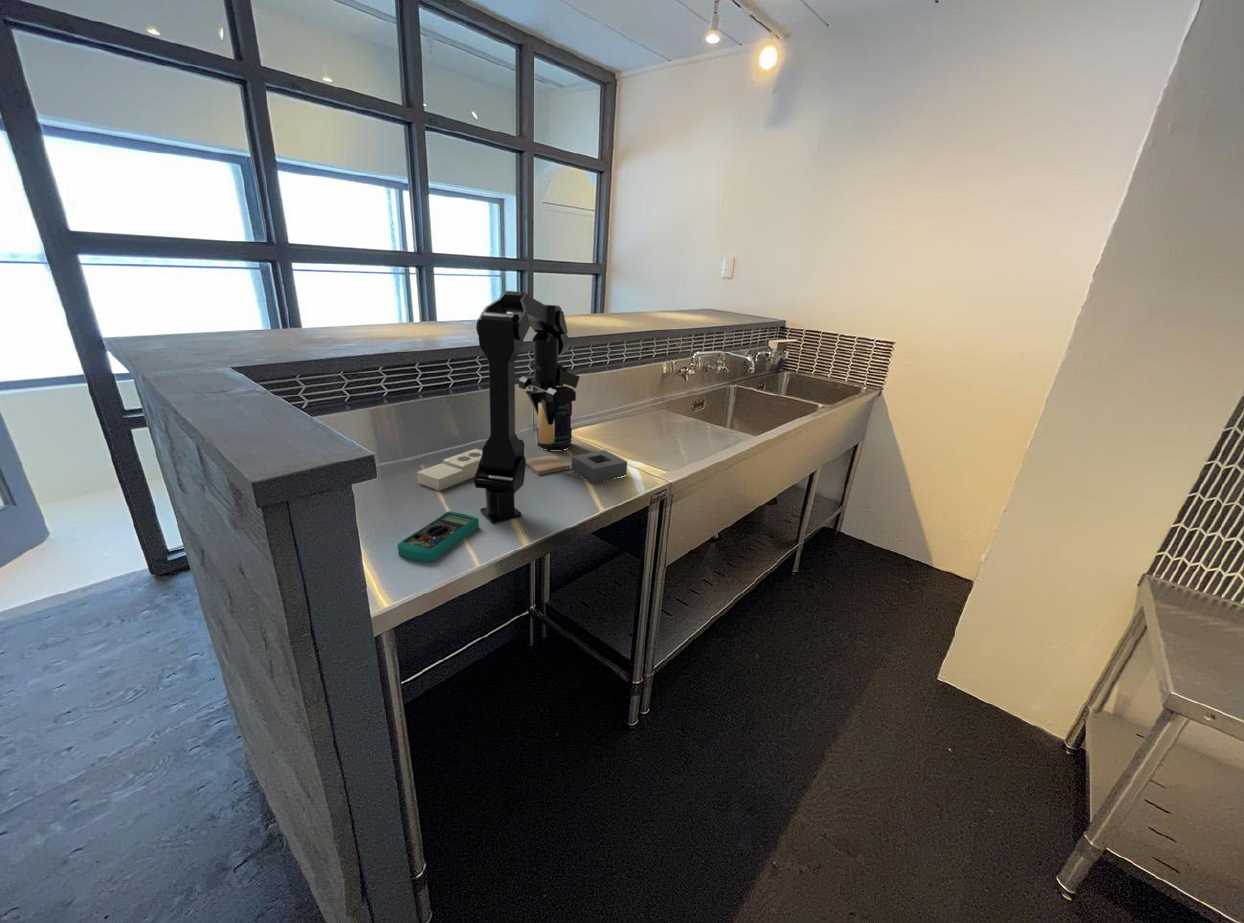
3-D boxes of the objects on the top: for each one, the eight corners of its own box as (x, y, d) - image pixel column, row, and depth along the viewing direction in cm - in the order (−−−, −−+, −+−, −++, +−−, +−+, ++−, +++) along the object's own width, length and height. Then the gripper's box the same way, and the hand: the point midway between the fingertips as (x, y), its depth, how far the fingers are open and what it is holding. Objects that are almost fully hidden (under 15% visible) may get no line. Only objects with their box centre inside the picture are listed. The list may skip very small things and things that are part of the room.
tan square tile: (569, 468, 129) (570, 465, 129) (538, 475, 124) (538, 471, 124) (552, 458, 136) (552, 454, 136) (522, 463, 131) (522, 460, 130)
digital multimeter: (395, 557, 88) (393, 542, 87) (449, 521, 101) (448, 508, 100) (430, 567, 86) (428, 551, 84) (480, 528, 99) (480, 515, 98)
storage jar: (549, 454, 139) (550, 401, 134) (530, 444, 146) (529, 393, 140) (578, 447, 145) (579, 396, 140) (558, 438, 152) (558, 389, 147)
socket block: (626, 476, 126) (627, 461, 125) (593, 484, 121) (593, 469, 119) (603, 464, 134) (604, 449, 132) (571, 471, 128) (571, 456, 127)
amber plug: (557, 442, 127) (557, 403, 124) (543, 444, 125) (543, 405, 122) (549, 438, 130) (549, 400, 127) (535, 440, 128) (535, 401, 124)
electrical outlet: (416, 468, 115) (475, 447, 130) (418, 484, 116) (476, 462, 131) (438, 475, 112) (496, 454, 126) (439, 492, 113) (496, 469, 128)
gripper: (596, 364, 118) (593, 427, 124) (556, 352, 132) (555, 409, 137) (554, 367, 112) (554, 434, 117) (517, 354, 126) (518, 414, 131)
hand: (546, 422), depth 126 cm, fingers closed on amber plug, 4 cm apart
